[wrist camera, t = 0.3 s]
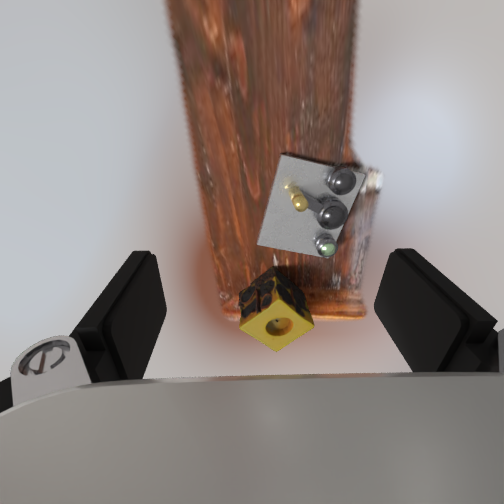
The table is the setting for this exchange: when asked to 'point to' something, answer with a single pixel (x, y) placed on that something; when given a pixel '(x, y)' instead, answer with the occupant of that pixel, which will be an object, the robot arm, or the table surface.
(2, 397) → the robot arm
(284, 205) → the plate
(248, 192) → the table surface
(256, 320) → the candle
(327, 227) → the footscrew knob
